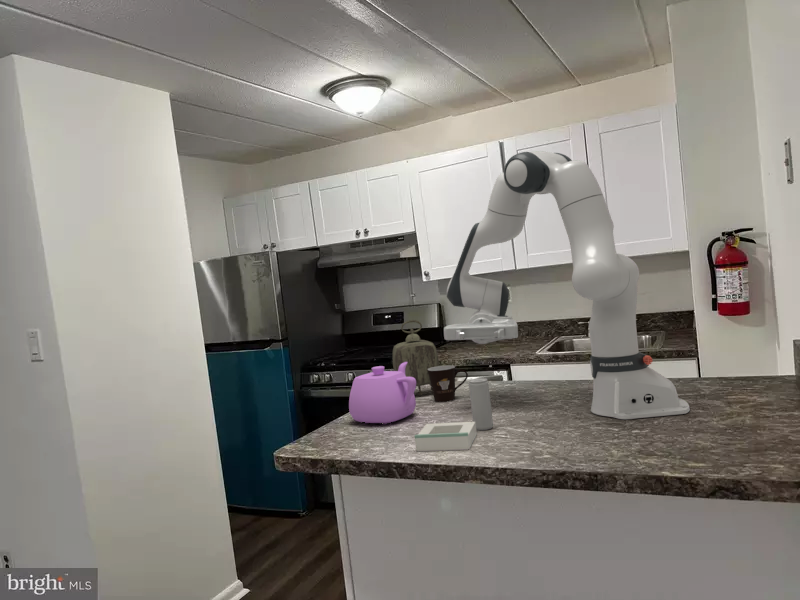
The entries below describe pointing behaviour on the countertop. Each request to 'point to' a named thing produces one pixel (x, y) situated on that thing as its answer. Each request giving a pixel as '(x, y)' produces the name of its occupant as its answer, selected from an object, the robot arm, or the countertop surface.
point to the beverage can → (480, 403)
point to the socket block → (446, 436)
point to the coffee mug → (444, 382)
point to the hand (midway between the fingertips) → (479, 335)
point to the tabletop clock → (415, 357)
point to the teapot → (382, 396)
